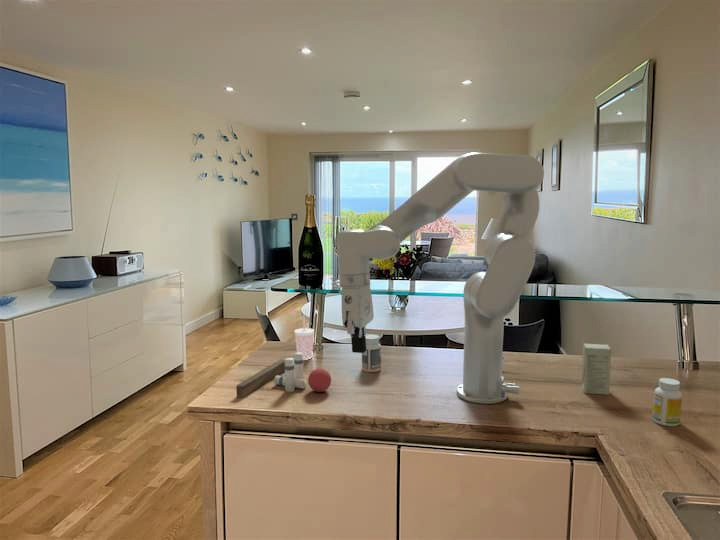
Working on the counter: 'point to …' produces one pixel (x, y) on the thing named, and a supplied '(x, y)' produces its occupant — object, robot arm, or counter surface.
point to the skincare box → (596, 368)
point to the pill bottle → (372, 354)
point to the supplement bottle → (667, 402)
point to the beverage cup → (304, 341)
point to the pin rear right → (298, 365)
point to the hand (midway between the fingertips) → (359, 351)
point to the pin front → (298, 382)
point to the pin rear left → (289, 375)
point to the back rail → (260, 378)
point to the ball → (319, 380)
